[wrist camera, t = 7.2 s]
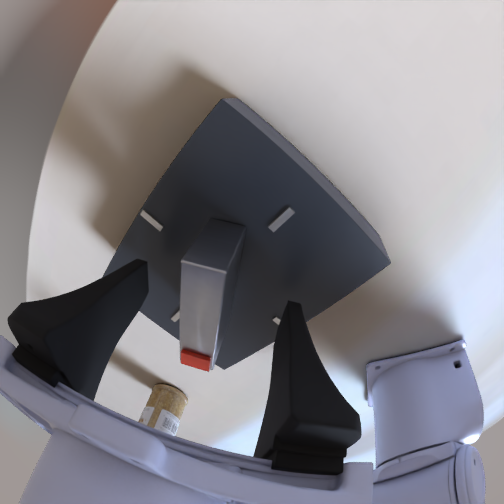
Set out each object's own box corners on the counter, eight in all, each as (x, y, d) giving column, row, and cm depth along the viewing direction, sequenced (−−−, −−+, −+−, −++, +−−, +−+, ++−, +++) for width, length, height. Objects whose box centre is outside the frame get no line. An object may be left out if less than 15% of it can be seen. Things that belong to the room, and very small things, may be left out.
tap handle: (210, 217, 13) (177, 264, 10) (246, 225, 13) (225, 277, 10) (200, 313, 17) (178, 364, 13) (229, 321, 17) (211, 374, 13)
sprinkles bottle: (148, 379, 29) (104, 474, 18) (183, 386, 28) (142, 491, 17) (161, 398, 31) (125, 486, 20) (193, 405, 30) (160, 499, 19)
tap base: (237, 97, 13) (220, 98, 10) (379, 235, 15) (392, 264, 13) (122, 256, 20) (99, 281, 17) (232, 341, 22) (223, 371, 20)
